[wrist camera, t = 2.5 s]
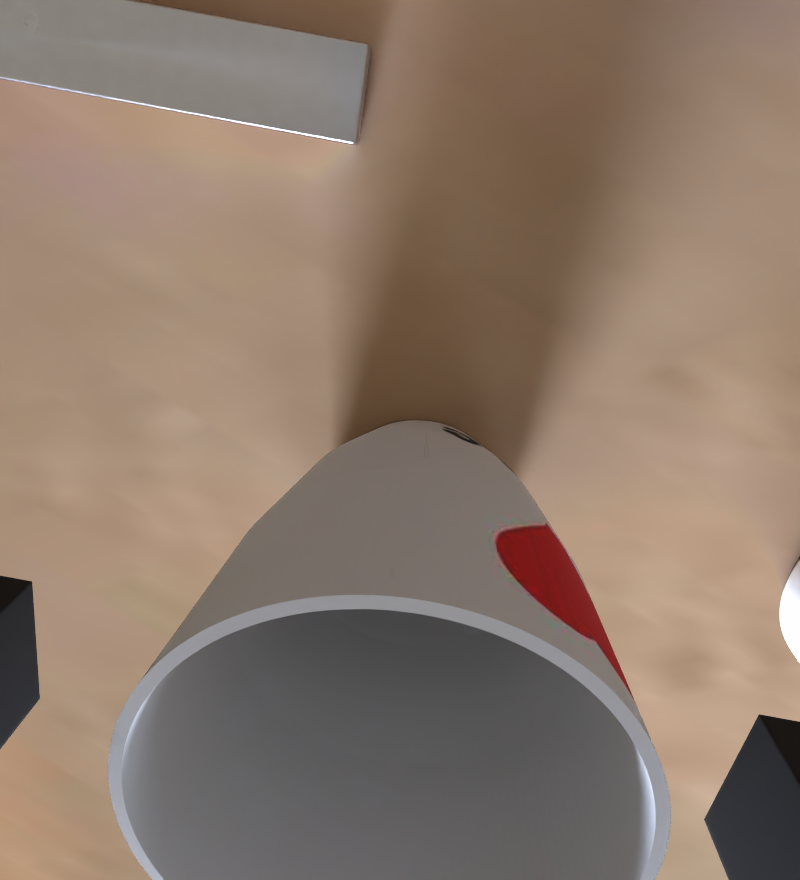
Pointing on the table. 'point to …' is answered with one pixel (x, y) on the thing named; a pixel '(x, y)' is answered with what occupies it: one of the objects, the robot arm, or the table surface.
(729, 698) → the table surface
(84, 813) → the table surface
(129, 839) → the cup
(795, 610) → the can
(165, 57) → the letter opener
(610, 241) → the table surface
